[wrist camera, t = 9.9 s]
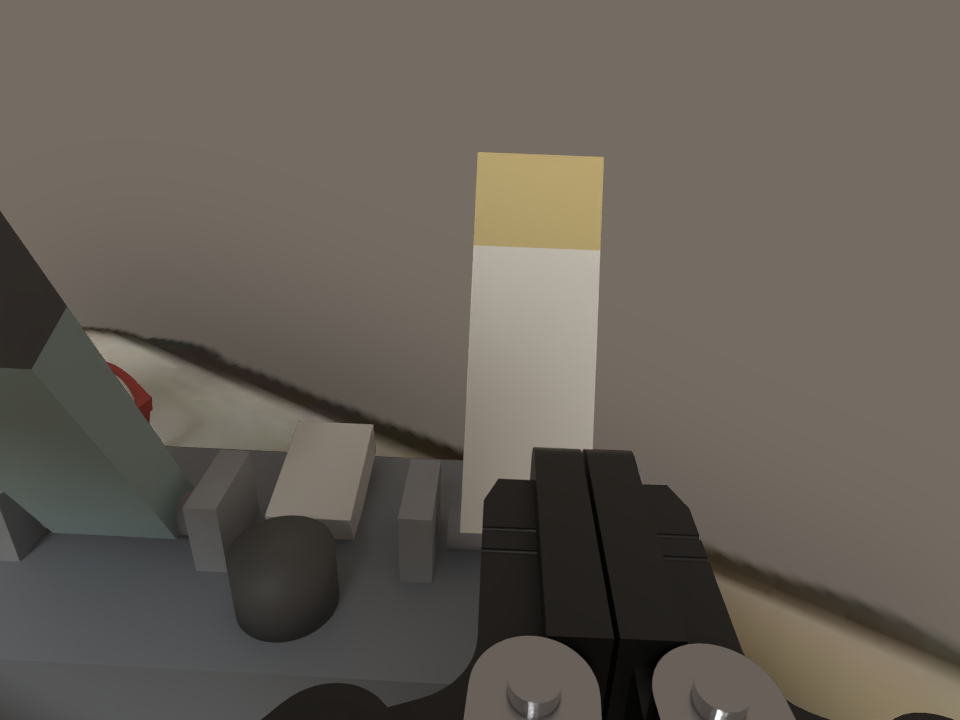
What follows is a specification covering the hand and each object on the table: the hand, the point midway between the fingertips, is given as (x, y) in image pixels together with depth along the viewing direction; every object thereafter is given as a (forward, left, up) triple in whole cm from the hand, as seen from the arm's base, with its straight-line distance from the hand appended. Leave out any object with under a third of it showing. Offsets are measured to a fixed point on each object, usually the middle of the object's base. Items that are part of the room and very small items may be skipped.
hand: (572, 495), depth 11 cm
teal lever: (-13, +9, -8) cm, 18 cm away
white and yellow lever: (0, +9, -8) cm, 12 cm away
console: (-7, +9, -14) cm, 18 cm away
